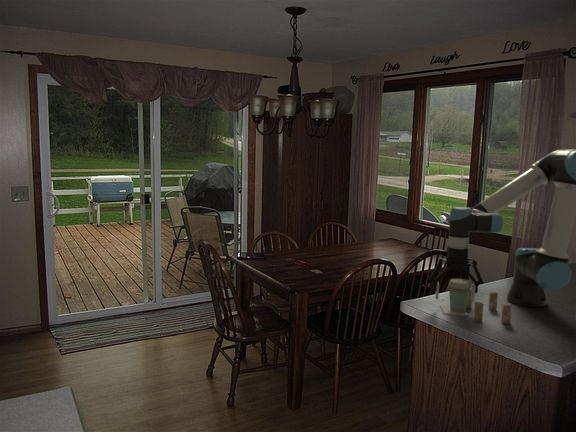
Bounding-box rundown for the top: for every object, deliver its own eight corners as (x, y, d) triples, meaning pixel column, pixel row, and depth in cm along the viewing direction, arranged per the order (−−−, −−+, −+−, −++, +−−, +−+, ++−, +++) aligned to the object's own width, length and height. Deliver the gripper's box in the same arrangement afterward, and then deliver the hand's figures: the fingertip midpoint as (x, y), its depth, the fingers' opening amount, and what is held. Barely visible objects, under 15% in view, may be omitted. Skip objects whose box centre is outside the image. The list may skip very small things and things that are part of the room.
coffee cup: (466, 315, 184) (469, 285, 182) (444, 311, 189) (446, 281, 187) (471, 309, 191) (473, 280, 189) (449, 305, 196) (451, 276, 194)
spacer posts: (497, 307, 195) (498, 291, 194) (511, 325, 176) (513, 306, 175) (462, 305, 197) (463, 289, 196) (473, 322, 178) (474, 304, 177)
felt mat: (463, 308, 194) (463, 307, 194) (467, 315, 185) (467, 314, 185) (440, 306, 195) (440, 305, 195) (443, 314, 187) (443, 313, 187)
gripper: (489, 246, 188) (485, 298, 191) (424, 243, 192) (420, 294, 195) (494, 250, 181) (489, 304, 184) (426, 247, 185) (423, 300, 188)
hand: (454, 299), depth 190 cm, fingers open, 13 cm apart
